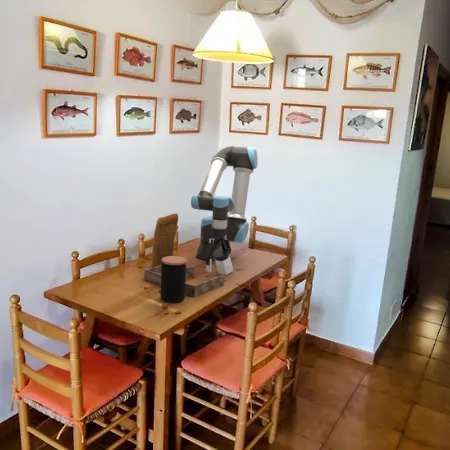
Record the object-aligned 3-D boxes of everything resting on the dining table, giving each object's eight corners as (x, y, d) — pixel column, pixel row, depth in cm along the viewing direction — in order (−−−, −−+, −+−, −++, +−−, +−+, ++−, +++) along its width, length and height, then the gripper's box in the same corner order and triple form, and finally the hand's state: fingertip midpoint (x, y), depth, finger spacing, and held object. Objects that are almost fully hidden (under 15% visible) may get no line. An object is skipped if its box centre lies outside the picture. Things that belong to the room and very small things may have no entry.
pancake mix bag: (180, 264, 253) (182, 213, 247) (155, 271, 238) (157, 218, 232) (171, 261, 257) (173, 211, 251) (146, 268, 242) (147, 215, 236)
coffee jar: (189, 299, 203) (191, 260, 199) (171, 305, 195) (173, 264, 191) (173, 292, 210) (175, 254, 206) (155, 298, 202) (156, 258, 198)
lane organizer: (175, 270, 242) (176, 260, 241) (224, 285, 224) (224, 275, 223) (143, 279, 224) (144, 269, 223) (193, 297, 206) (194, 286, 205)
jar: (223, 277, 237) (219, 259, 230) (214, 271, 242) (209, 253, 236) (236, 268, 241) (232, 250, 234) (227, 262, 246) (222, 245, 240)
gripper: (228, 222, 242) (225, 262, 246) (197, 229, 222) (195, 271, 227) (239, 225, 238) (237, 265, 242) (209, 232, 218) (207, 275, 222)
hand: (216, 268), depth 234 cm, fingers open, 13 cm apart
